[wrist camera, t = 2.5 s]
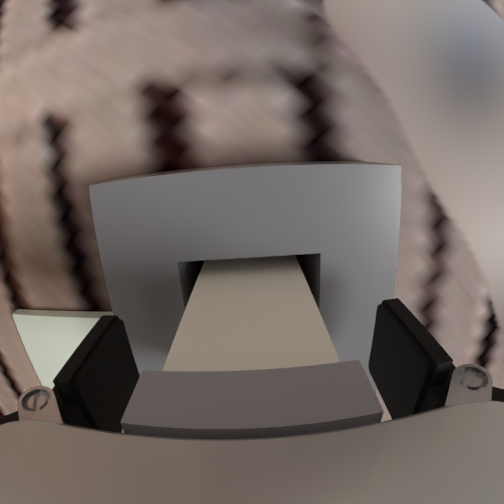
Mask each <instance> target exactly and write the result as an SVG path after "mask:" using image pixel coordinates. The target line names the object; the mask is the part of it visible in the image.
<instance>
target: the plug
mask: <svg viewBox="0 0 504 504" xmlns="http://www.w3.org/2000/svg"><path fill="white" fill-rule="evenodd" d="M383 412H384V411H383V409H382V407H381V405H380V403H379V401H378V398H377V396H376V394H375V392H374V390H373V388H372V386H371V383H370V381H369V379H368V377H367V375H366V373H365V371H364V369H363V367H362V365H361V363H360V361H359V360H353V361H345V362H340V360H339V358H338V355H337V353H336V350H335V348H334V346H333V343H332V341H331V338H330V336H329V333H328V331H327V328H326V326H325V324H324V321H323V319H322V316H321V314H320V312H319V309H318V307H317V305H316V302H315V300H314V298H313V295H312V293H311V291H310V288H309V286H308V284H307V281H306V279H305V277H304V274H303V272H302V270H301V267H300V265H299V263H298V261H297V258H296V256H295V255H285V256H268V257H252V258H235V259H218V260H205V261H204V263H203V266H202V268H201V271H200V273H199V276H198V278H197V281H196V283H195V286H194V288H193V291H192V293H191V296H190V298H189V301H188V304H187V306H186V309H185V311H184V314H183V317H182V319H181V322H180V324H179V327H178V330H177V332H176V335H175V338H174V340H173V343H172V346H171V348H170V351H169V354H168V357H167V359H166V362H165V365H164V367H163V370H162V371H146V370H143V371H142V373H141V375H140V377H139V380H138V382H137V384H136V387H135V389H134V391H133V394H132V396H131V398H130V401H129V403H128V405H127V408H126V410H125V412H124V415H123V417H122V420H121V422H120V423H121V425H122V427H123V429H124V431H125V433H126V434H134V435H143V436H154V437H167V438H186V439H251V438H270V437H283V436H294V435H304V434H313V433H321V432H328V431H335V430H341V429H347V428H353V427H359V426H364V425H369V424H374V423H379V422H380V421H381V418H382V415H383Z"/></svg>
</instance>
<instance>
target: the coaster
mask: <svg viewBox="0 0 504 504" xmlns="http://www.w3.org/2000/svg"><path fill="white" fill-rule="evenodd" d="M103 315H113V312H90V311H50V310H27V309H17V310H16V311H15V312H14V313H13V314H12V316H13V319H14V321H15V324H16V327H17V329H18V332H19V334H20V337H21V339H22V342H23V344H24V347H25V349H26V351H27V354H28V356H29V358H30V361H31V363H32V365H33V367H34V369H35V371H36V373H37V376H38V378H39V380H40V382H41V384H42V386H46V387H49V388H50V389H53V387H54V386H55V385H54V383H53V380H54V378H55V377H56V375H57V374H58V373H59V371H60V370H61V369H62V367H63V366H64V364H65V363H66V362H67V360H68V359H69V358H70V356H71V355H72V354H73V352H74V351H75V350H76V348H77V347H78V346H79V344H80V343H81V342H82V341H83V339H84V338H85V337H86V335H87V334H88V333H89V331H90V330H91V329H92V328H93V326H94V325H95V324H96V323H97V321H98V320H99V319H100V318H101V316H103Z"/></svg>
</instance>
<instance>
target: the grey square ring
mask: <svg viewBox="0 0 504 504" xmlns="http://www.w3.org/2000/svg"><path fill="white" fill-rule="evenodd" d="M89 193H90V201H91V208H92V215H93V221H94V227H95V233H96V239H97V245H98V250H99V255H100V260H101V265H102V270H103V274H104V279H105V283H106V287H107V292H108V296H109V300H110V304H111V308H112V311H113V315H116V316H118V317H119V319H122V320H123V322H124V325H125V329H126V332H127V336H128V339H129V343H130V346H131V349H132V353H133V356H134V359H135V362H136V366H137V369H138V372H139V375H141V373H142V371H143V370H146V371H162V370H163V367H164V365H165V362H166V359H167V357H168V354H169V351H170V348H171V346H172V343H173V340H174V338H175V335H176V332H177V330H178V327H179V324H180V322H181V319H182V317H183V314H184V311H185V309H186V306H187V304H188V301H189V298H190V296H191V293H192V291H193V288H194V286H195V283H196V281H197V278H198V276H199V268H198V261H201V260H218V259H235V258H252V257H268V256H285V255H301V254H304V277H305V279H306V281H307V284H308V286H309V288H310V291H311V293H312V295H313V298H314V300H315V302H316V305H317V307H318V309H319V312H320V314H321V316H322V319H323V321H324V324H325V326H326V328H327V331H328V333H329V336H330V338H331V341H332V343H333V346H334V348H335V350H336V353H337V355H338V358H339V360H340V362H345V361H353V360H359V361H360V363H361V365H362V367H363V369H364V371H365V373H366V375H367V377H368V379H369V381H370V383H371V386H372V388H373V390H374V392H375V393H376V389H377V386H376V384H375V382H374V380H373V378H372V376H371V374H370V372H369V367H368V364H369V358H370V352H371V346H372V340H373V333H374V326H375V319H376V311H377V306H378V305H379V304H381V303H382V301H383V300H388V299H393V296H394V288H395V279H396V270H397V260H398V248H399V233H400V214H401V165H394V164H386V163H376V162H366V161H314V162H280V163H259V164H243V165H229V166H216V167H205V168H194V169H184V170H175V171H166V172H158V173H150V174H142V175H135V176H128V177H123V178H118V179H114V180H109V181H105V182H101V183H97V184H93V185H89Z"/></svg>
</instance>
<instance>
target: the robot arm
mask: <svg viewBox="0 0 504 504" xmlns="http://www.w3.org/2000/svg"><path fill="white" fill-rule="evenodd" d="M452 362H453V360H452V358H451V357H450V356H449V355H448V354H447V353H446V351H445V350H444V349H443V348H442V347H441V346H440V344H439V343H438V342H437V341H436V340H435V339H434V337H433V336H432V335H431V334H430V333H429V332H428V331H427V329H426V328H425V327H424V326H423V325H422V324H421V323H420V322H419V321H418V319H417V318H416V317H415V316H414V315H413V314H412V313H411V312H410V311H409V310H408V308H407V307H406V306H405V305H404V304H403V303H402V302H401V301H400V300H399V299H398V298H396V299H388V300H383V301H382V303H381V304H379V305H378V306H377V311H376V319H375V326H374V333H373V340H372V346H371V352H370V358H369V364H368V367H369V372H370V374H371V376H372V378H373V380H374V382H375V384H376V386H377V388H378V391H379V393H380V395H381V397H382V399H383V401H384V403H385V405H386V407H387V409H388V411H389V413H390V415H391V418H392V420H388V421H384V422H379V423H374V424H369V425H364V426H359V427H353V428H347V429H341V430H335V431H328V432H321V433H313V434H304V435H294V436H283V437H270V438H251V439H186V438H167V437H154V436H143V435H134V434H126V433H121V431H122V428H123V427H122V425H121V423H120V422H121V420H122V417H123V415H124V412H125V410H126V408H127V405H128V403H129V401H130V398H131V396H132V394H133V391H134V389H135V387H136V384H137V382H138V380H139V377H140V375H139V372H138V369H137V366H136V362H135V359H134V356H133V353H132V349H131V346H130V343H129V339H128V336H127V332H126V329H125V325H124V322H123V320H122V319H119V317H118V316H116V315H103V316H101V318H100V319H99V320H98V321H97V323H96V324H95V325H94V326H93V328H92V329H91V330H90V331H89V333H88V334H87V335H86V337H85V338H84V339H83V341H82V342H81V343H80V344H79V346H78V347H77V348H76V350H75V351H74V352H73V354H72V355H71V356H70V358H69V359H68V360H67V362H66V363H65V364H64V366H63V367H62V369H61V370H60V371H59V373H58V374H57V375H56V377H55V378H54V380H53V383H54V385H55V386H54V387H53V389H50V388H49V387H46V386H36V387H33V388H30V389H28V390H27V391H25V392H24V393H23V394H22V395H21V396H20V398H19V400H18V411H17V412H14V413H12V414H9V415H6V416H4V417H1V418H0V504H504V389H500V388H496V387H492V384H493V381H492V377H491V375H490V373H489V372H488V371H487V370H486V369H484V368H483V367H481V366H478V365H475V364H463V365H460V366H458V367H457V368H456V367H455V366H454V365H453V364H452Z"/></svg>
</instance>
